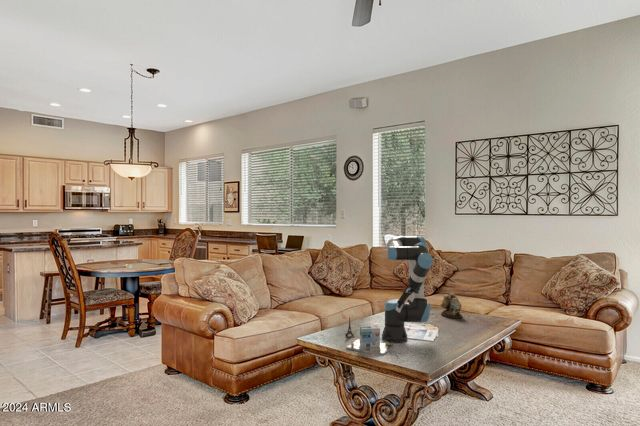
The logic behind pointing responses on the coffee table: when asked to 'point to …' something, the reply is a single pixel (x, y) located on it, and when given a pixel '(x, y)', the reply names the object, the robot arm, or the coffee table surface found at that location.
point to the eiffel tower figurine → (349, 332)
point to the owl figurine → (451, 306)
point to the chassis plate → (374, 350)
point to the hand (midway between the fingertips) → (404, 305)
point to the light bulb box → (369, 336)
